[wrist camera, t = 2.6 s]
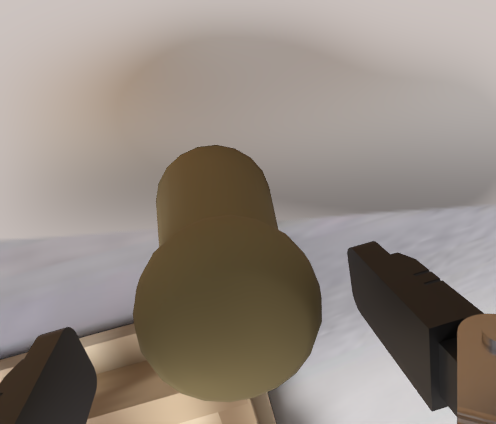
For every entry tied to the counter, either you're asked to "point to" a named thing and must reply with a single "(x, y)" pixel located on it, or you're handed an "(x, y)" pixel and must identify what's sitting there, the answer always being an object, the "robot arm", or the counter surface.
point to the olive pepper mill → (224, 283)
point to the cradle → (148, 389)
